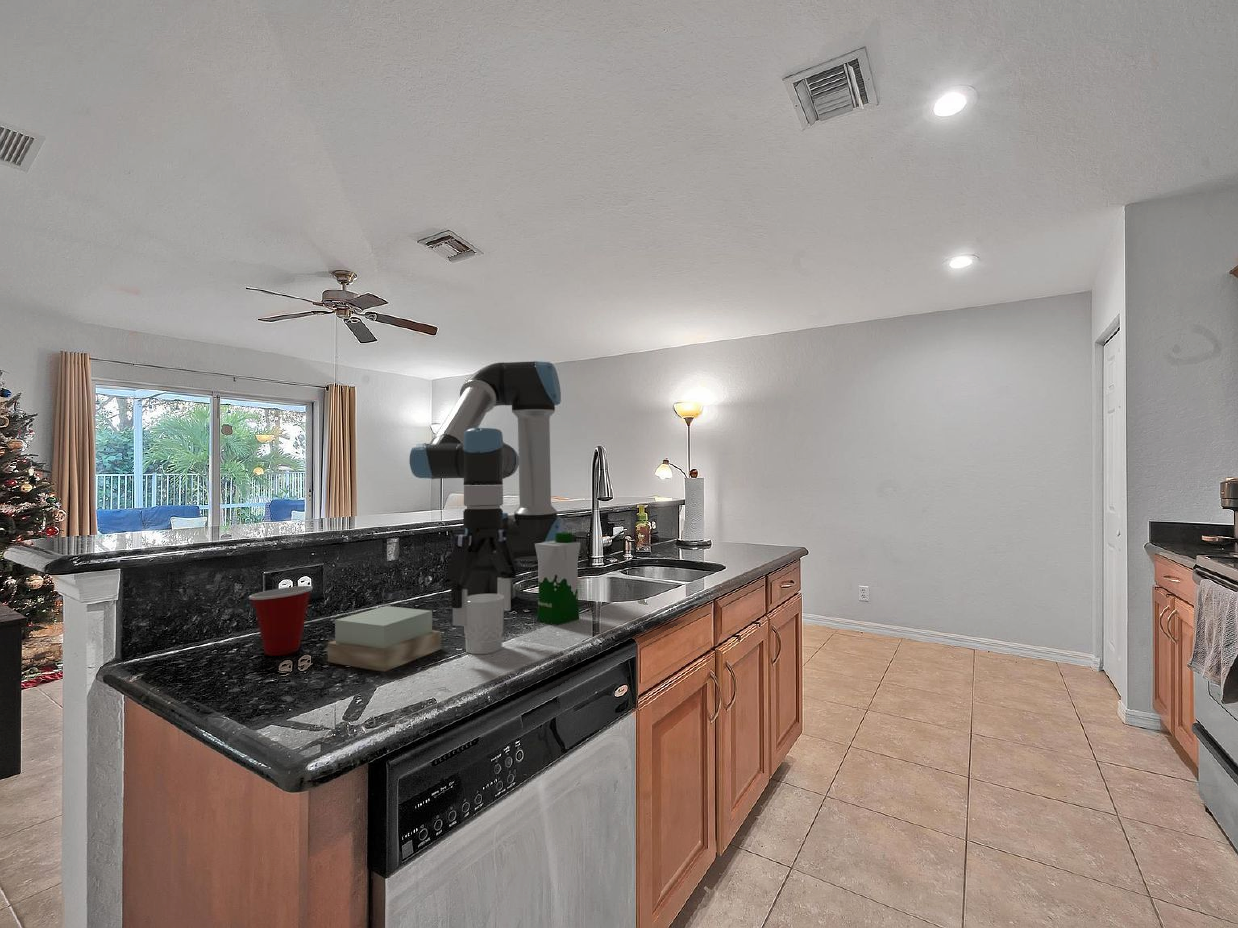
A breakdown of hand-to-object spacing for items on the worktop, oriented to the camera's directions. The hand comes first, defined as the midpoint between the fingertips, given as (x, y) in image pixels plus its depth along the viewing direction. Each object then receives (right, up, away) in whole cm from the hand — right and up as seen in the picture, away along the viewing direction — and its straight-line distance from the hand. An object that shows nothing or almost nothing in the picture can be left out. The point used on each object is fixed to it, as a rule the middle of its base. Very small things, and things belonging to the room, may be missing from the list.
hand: (483, 617), depth 110 cm
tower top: (-18, -3, -3) cm, 18 cm away
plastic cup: (-39, -7, 0) cm, 40 cm away
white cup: (0, -6, 0) cm, 6 cm away
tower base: (-18, -7, -3) cm, 19 cm away
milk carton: (+12, -7, +22) cm, 26 cm away
